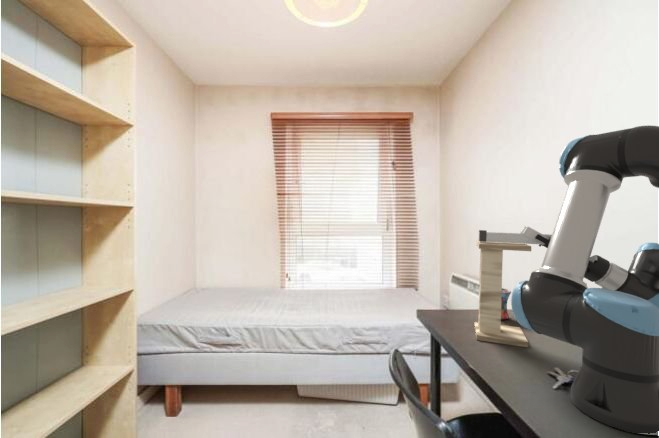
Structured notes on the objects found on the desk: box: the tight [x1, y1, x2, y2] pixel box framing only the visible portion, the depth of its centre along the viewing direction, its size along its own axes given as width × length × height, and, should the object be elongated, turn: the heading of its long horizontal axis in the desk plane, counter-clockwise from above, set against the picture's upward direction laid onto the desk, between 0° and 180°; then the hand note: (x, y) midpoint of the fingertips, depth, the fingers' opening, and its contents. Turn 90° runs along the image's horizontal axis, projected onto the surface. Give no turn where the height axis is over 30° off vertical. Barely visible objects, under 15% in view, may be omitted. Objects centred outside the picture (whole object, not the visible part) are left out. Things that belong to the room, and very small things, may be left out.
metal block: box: [478, 229, 552, 245], centre depth 104 cm, size 22×4×4 cm, turn 69°
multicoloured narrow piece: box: [501, 287, 512, 320], centre depth 126 cm, size 12×9×11 cm
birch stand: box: [473, 240, 532, 348], centre depth 105 cm, size 14×14×30 cm
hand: (523, 229), depth 103 cm, fingers closed on metal block, 3 cm apart
